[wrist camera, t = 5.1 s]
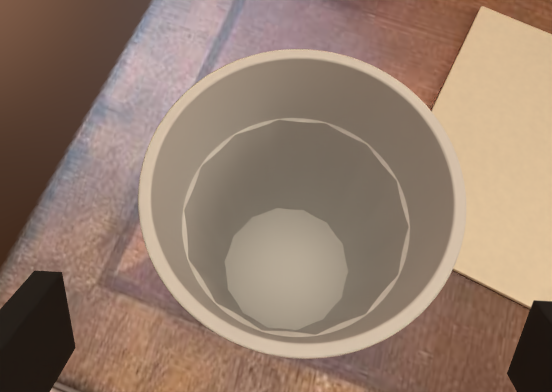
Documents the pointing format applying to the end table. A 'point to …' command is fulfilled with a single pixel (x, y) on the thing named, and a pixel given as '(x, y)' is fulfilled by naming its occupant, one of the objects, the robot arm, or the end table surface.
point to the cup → (302, 203)
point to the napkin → (503, 154)
